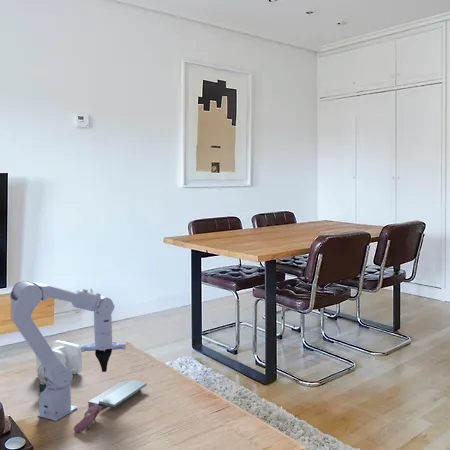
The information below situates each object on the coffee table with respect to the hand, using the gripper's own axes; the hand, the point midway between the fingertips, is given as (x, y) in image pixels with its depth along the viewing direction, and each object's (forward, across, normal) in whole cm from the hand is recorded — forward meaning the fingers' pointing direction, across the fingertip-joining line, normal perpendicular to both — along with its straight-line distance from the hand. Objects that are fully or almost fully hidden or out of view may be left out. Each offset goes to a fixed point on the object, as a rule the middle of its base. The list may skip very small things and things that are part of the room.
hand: (104, 370), depth 165 cm
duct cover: (+7, +6, -3) cm, 10 cm away
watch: (+10, -20, +8) cm, 23 cm away
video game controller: (+10, -3, -18) cm, 21 cm away
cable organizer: (+10, -19, +23) cm, 31 cm away
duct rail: (+9, +4, -1) cm, 10 cm away
